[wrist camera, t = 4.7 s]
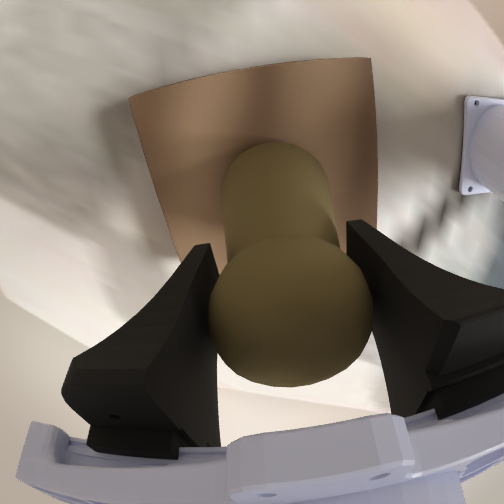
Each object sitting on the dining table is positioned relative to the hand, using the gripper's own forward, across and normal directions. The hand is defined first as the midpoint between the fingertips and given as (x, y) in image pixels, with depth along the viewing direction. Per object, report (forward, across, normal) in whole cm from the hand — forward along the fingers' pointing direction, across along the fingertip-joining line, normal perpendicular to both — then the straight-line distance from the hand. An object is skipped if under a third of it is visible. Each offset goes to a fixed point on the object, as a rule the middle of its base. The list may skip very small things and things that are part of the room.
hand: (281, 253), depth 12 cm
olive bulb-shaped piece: (+6, 0, 0) cm, 7 cm away
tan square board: (+10, 0, 0) cm, 10 cm away
